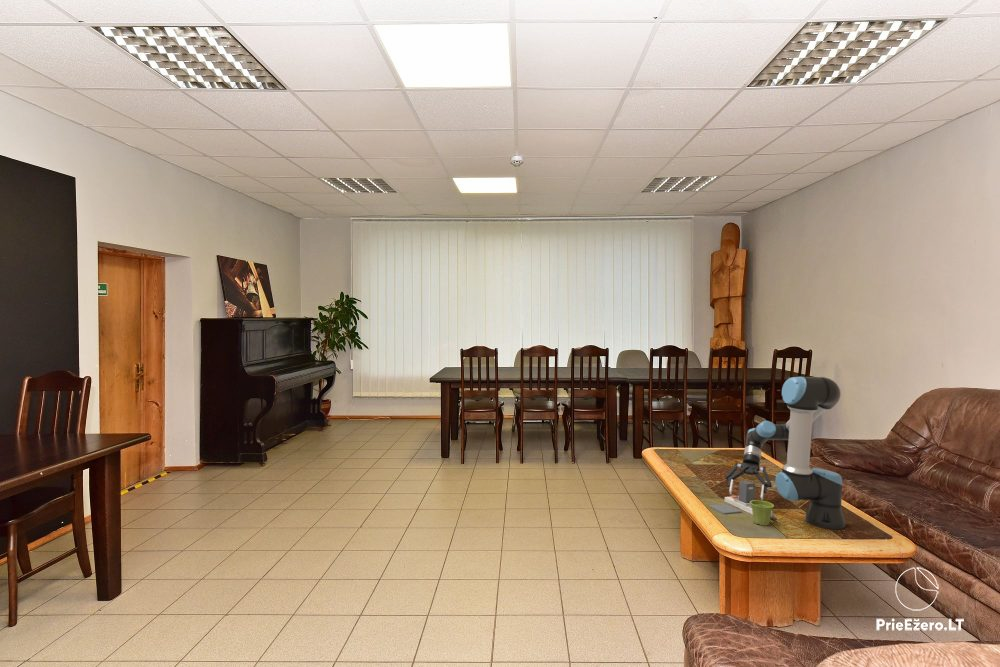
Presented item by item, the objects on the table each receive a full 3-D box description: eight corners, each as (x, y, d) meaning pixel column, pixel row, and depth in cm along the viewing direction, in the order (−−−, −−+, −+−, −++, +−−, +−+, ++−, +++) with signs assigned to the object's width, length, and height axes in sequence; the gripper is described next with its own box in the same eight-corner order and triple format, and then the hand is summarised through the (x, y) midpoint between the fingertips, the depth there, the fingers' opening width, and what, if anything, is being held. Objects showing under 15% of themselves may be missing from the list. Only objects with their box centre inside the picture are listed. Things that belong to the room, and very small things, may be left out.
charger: (754, 504, 255) (755, 483, 254) (746, 505, 253) (746, 484, 253) (746, 501, 259) (747, 480, 259) (738, 502, 258) (739, 481, 258)
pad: (741, 512, 250) (741, 511, 250) (723, 514, 247) (723, 513, 247) (726, 505, 259) (726, 503, 259) (709, 506, 256) (709, 505, 256)
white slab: (783, 520, 240) (783, 513, 240) (768, 522, 238) (768, 515, 238) (738, 499, 267) (738, 493, 267) (724, 501, 265) (724, 494, 265)
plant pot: (745, 518, 242) (746, 499, 242) (767, 519, 241) (767, 500, 241) (754, 526, 232) (755, 506, 232) (777, 527, 232) (777, 507, 232)
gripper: (780, 465, 263) (775, 505, 250) (725, 457, 276) (718, 494, 264) (779, 457, 258) (774, 496, 246) (724, 449, 272) (716, 486, 259)
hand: (745, 495), depth 255 cm, fingers open, 13 cm apart
